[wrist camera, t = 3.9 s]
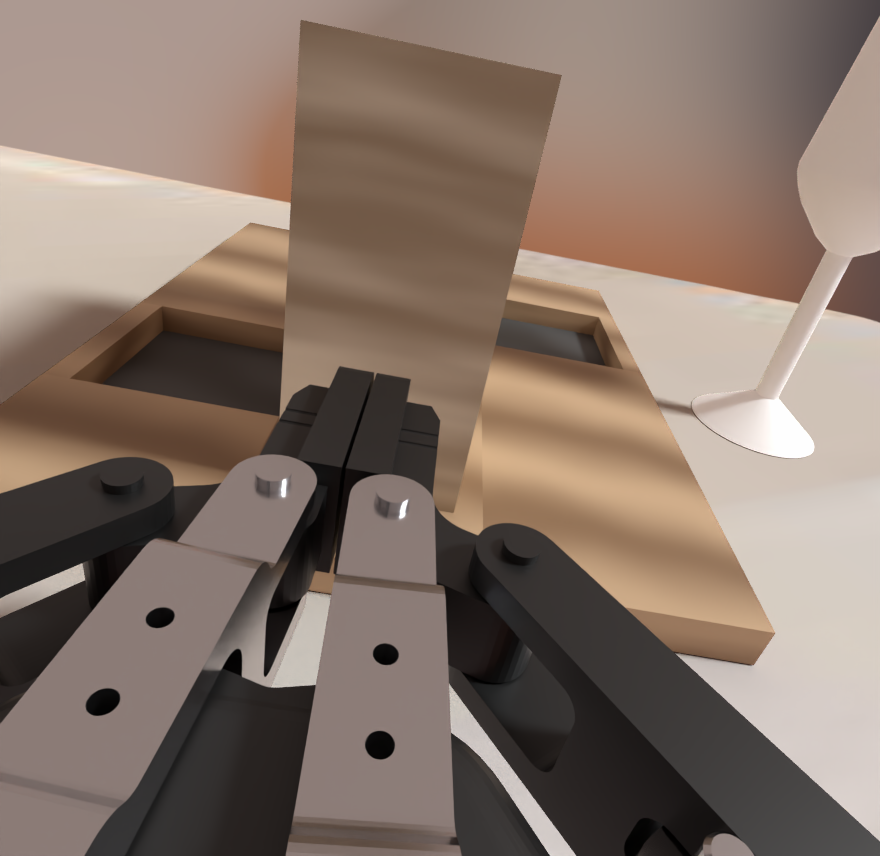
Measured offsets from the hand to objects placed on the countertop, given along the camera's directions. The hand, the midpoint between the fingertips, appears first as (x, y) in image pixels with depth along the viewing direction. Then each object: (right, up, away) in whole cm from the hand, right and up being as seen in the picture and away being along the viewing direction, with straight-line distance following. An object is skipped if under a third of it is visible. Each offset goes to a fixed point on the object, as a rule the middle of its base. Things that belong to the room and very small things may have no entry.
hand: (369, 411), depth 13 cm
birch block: (-1, +1, +14) cm, 14 cm away
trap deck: (-1, +3, +20) cm, 20 cm away
